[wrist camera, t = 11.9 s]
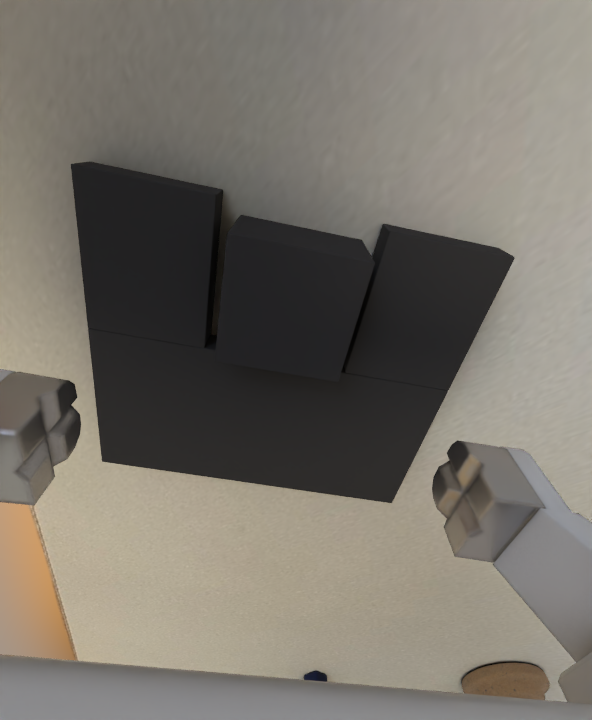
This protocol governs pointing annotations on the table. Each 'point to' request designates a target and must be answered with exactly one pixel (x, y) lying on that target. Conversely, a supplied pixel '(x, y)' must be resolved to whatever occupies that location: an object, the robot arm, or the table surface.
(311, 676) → the eraser
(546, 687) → the candle holder
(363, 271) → the black cube
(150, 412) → the black u-shaped block
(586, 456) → the table surface
